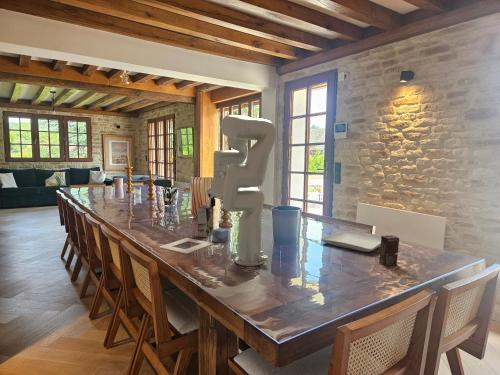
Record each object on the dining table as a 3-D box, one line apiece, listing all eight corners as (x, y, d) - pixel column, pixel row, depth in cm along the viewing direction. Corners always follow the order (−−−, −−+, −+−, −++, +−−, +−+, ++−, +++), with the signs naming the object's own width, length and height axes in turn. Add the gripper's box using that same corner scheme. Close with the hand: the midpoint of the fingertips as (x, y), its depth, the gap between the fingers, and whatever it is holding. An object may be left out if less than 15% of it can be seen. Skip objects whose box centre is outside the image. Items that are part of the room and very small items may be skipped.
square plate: (392, 245, 171) (392, 237, 170) (370, 256, 151) (371, 248, 150) (344, 235, 189) (344, 229, 189) (319, 244, 169) (319, 237, 169)
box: (385, 266, 137) (387, 238, 136) (378, 262, 141) (380, 235, 140) (398, 265, 138) (399, 237, 137) (391, 262, 143) (392, 234, 141)
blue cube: (228, 240, 174) (228, 229, 173) (221, 242, 168) (221, 231, 168) (219, 238, 177) (219, 227, 176) (212, 241, 172) (212, 229, 171)
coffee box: (208, 237, 179) (208, 208, 177) (197, 236, 180) (197, 207, 178) (213, 233, 187) (214, 205, 186) (203, 232, 189) (203, 205, 187)
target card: (213, 243, 166) (213, 243, 166) (186, 253, 149) (186, 253, 149) (186, 238, 175) (186, 237, 175) (158, 247, 158) (158, 246, 158)
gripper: (238, 175, 168) (238, 208, 170) (211, 173, 177) (211, 204, 179) (230, 176, 161) (230, 210, 163) (202, 174, 170) (202, 206, 172)
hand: (220, 207), depth 171 cm, fingers open, 9 cm apart
